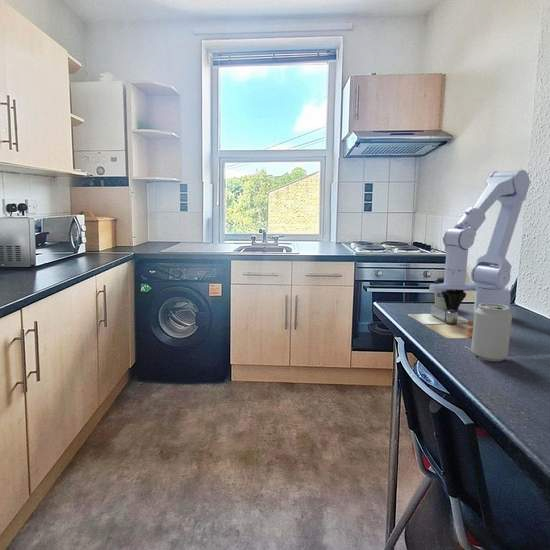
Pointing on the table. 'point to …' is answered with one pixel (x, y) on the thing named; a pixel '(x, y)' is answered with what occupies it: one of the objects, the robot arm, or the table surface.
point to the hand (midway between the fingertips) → (451, 315)
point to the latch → (444, 314)
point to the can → (491, 331)
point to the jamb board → (446, 326)
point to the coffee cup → (439, 294)
